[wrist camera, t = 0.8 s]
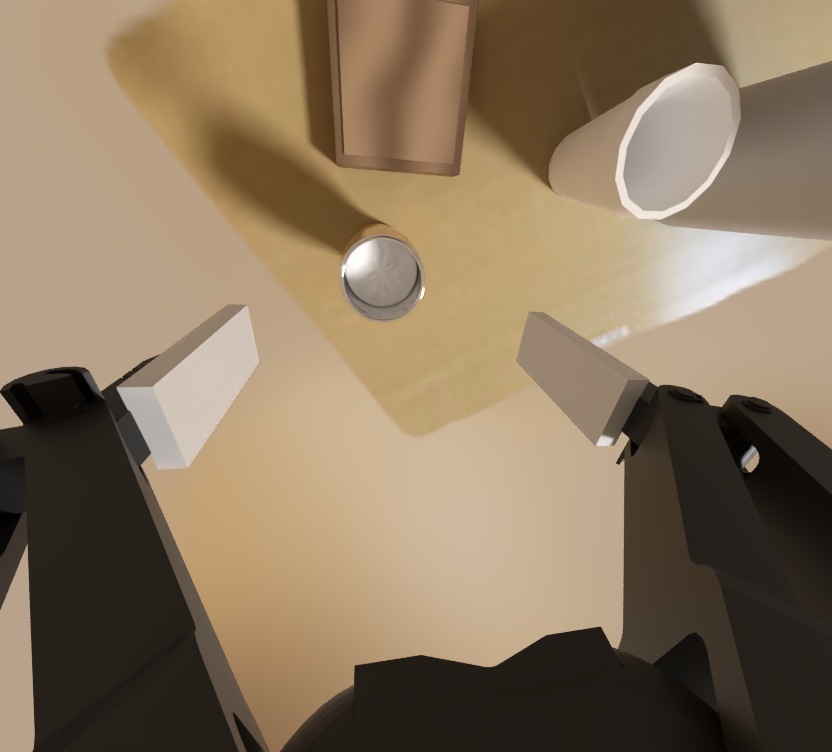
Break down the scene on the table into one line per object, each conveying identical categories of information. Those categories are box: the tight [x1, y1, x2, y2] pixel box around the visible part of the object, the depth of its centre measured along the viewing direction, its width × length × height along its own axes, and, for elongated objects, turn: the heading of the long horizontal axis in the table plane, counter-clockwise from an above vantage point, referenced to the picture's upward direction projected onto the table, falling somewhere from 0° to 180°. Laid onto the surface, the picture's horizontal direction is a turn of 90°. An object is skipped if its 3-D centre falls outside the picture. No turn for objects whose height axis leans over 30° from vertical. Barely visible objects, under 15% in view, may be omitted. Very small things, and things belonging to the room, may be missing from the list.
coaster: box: [327, 0, 479, 177], centre depth 27 cm, size 12×12×3 cm
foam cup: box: [548, 63, 741, 220], centre depth 28 cm, size 10×9×13 cm
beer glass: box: [339, 223, 425, 323], centre depth 29 cm, size 7×7×15 cm
